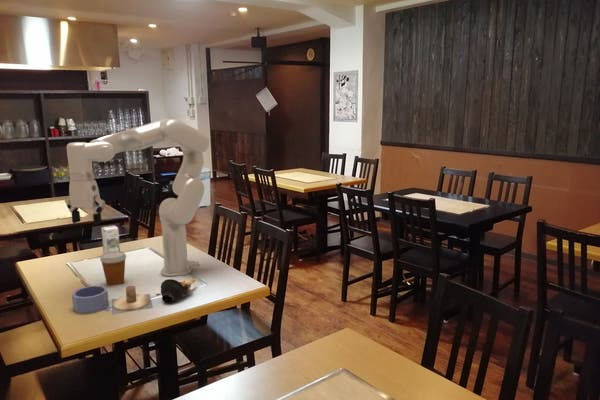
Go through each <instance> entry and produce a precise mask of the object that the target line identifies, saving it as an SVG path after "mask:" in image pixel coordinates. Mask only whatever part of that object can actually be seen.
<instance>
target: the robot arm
mask: <svg viewBox="0 0 600 400" xmlns="http://www.w3.org/2000/svg"><path fill="white" fill-rule="evenodd" d="M168 141H170V142H173V143H175V144H177V145H178V147H179V148H180V150H181V152H182V155H183V157H182V162H181V165H180V167H179V170H178V172H177V174H176V176H175V179H174V181H173V182H172V185H171V186H172V187H171V189H172V192H173V193H174V194H175V195H177V198H175V197H168V198H165V199H164V200H163V201H161V203H160V205H159V207H158V212H159V213H158V215H159V220H160V224H161V235H162V246H163V247H162V248H163V249H162V251H163V263H164V264H163V265H164V267H162V268H161V270H160V274H161V275H162V276H164V277H169V278H171V277H172V278H173V277H175V278H176V277H182V276H183V277H184V276H186V275H189V274H190V273H191V272H192V270H193V269H192V268H193V267H198V266H200V262H199V261H198V260H197V261H196V260H189V259H188V248H187V247H188V245H187V244H188V243H187V229H186V228H187V227H186V225H188V224H190V222H191V221H192V220H193V218H194V217H195V214H196V213H197V210H198V209H199V205H200V204H201V202H202V200H203V197H204V193H205V184H204V182H203V180H202V179H200V176H201V173H202V171H203V167H204V163H205V162H204V161H205V160H204V159H205V158H204V152H206V151H207V150H208V149H209V146H210V139H209V137H208V136H207V135H206V134H205V133H204V132H202V131H200V130H198V129H196V128H194V127H193V126H190V125H188V124H187V123H185V122H182V121H181V120H178V119H176V118H162V119H159V120H156V121H152V122H150V123H146V124H142V125H140V126H139V125H138V126H136V127H133V128H129V129H126V130H123V131H120V132H119V131H118V132H115V133H112V134H111V133H110V134H108V135H105V136H101V137H99V138H96V139H92V140H90V141H89V142H85V141H82V142H81V141H78V142H77V141H76V142H75V141H74V142H69V143H68V144H67V145H66V155H67V161H68V170H69V171H68V172H69V179H70V181H69V186H68V188H69V189H68V191H69V194H68V195H69V197H67V198H66V199H64V203H65V204H66V207H67V208H68V210H69V212H70V213H71V214H70V215H71V219H72V223H73V224H76V223H80V222H81V215H80V210H79V209H86V210H87V209H88V210H90V209H91V211H92V212H93V213H92V218H93V225H95V226H97V225H99V224H101V223H103V222H102V213H103V211H104V209H105V207H106V206H105V205H106V201H105V200H104V199H101V196H100V190H99V186H98V183H97V181H96V180H95V179H94V178H95V174H94V173H93V172H94V171H93V165H92V164H93V162H99V163H100V162H101V163H103V162H110V161H111V160H112V159H113V158H114V157H115V155H116V154H118V153H123V152H124V153H125V152H130V151H131V152H132V151H141V150H145V149H147V148H151V147H153V146H156V145H159V144H162V143H165V142H168Z"/></svg>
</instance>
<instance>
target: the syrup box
mask: <svg viewBox="0 0 600 400" xmlns="http://www.w3.org/2000/svg"><path fill="white" fill-rule="evenodd" d="M119 232H120V231H119V227H117V226H116V225H108V226H102V227H101V238H102V239H101V241H102V250H103V251H102V252H103V253H102V254H104V253H107V252H113V251H120V250H121V248H120V235H119V234H120V233H119Z"/></svg>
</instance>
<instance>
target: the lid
mask: <svg viewBox="0 0 600 400" xmlns="http://www.w3.org/2000/svg"><path fill="white" fill-rule="evenodd" d="M136 292H137V291H136V286H135V285H129V286H126V287H125V295H123V296H120V297H118V298H115V299H116V300H115V301H114V302H113V307H114V308H115V309H116V310H120V311H130V312H132V311H131V310H136V311H138V310H137V309H140V308H143V307H145V306H147V305H148V304H149V302H150V298H149V297H148V296H147V295H145V294H142V293H136Z"/></svg>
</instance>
